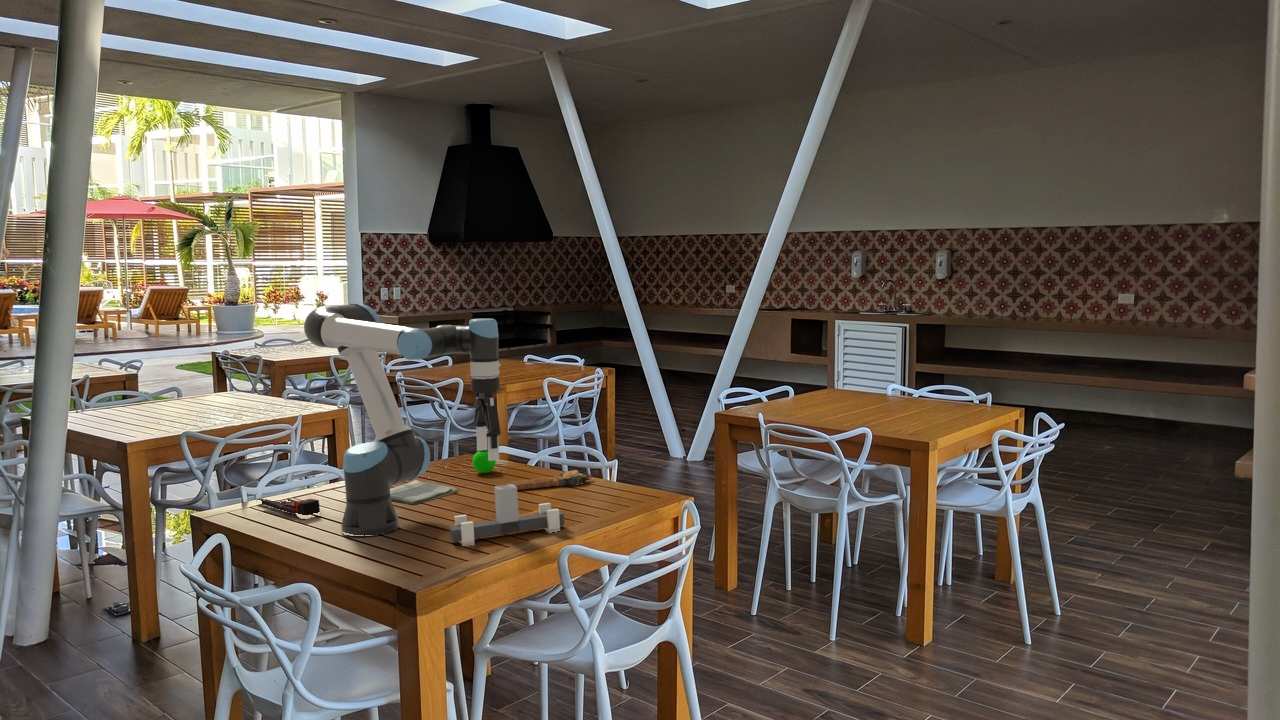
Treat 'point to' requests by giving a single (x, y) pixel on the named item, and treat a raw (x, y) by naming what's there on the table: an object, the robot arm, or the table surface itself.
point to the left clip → (465, 530)
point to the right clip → (550, 517)
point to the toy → (295, 506)
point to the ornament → (483, 462)
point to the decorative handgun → (553, 480)
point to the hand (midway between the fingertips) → (487, 455)
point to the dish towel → (419, 492)
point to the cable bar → (505, 517)
